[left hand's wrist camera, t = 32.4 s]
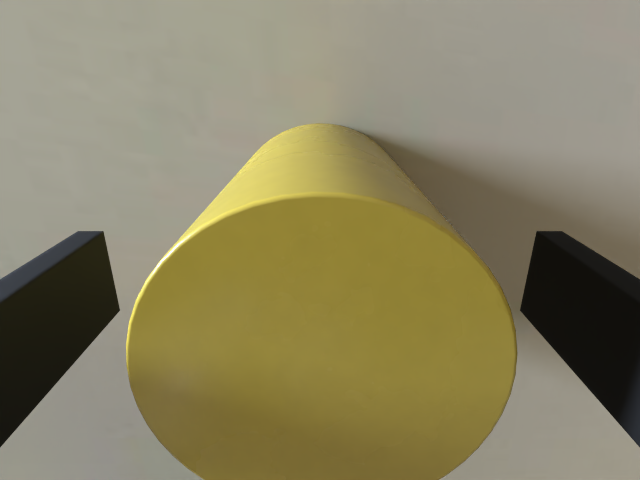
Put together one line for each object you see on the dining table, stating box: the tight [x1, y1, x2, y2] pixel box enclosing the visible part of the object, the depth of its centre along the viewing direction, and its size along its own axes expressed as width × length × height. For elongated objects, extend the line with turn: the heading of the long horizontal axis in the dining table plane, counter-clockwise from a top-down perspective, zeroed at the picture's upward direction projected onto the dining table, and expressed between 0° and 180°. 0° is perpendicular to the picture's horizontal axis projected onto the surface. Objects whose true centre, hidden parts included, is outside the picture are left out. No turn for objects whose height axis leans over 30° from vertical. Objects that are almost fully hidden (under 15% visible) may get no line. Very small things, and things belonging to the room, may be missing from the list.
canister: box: [126, 124, 517, 480], centre depth 13 cm, size 7×8×11 cm
